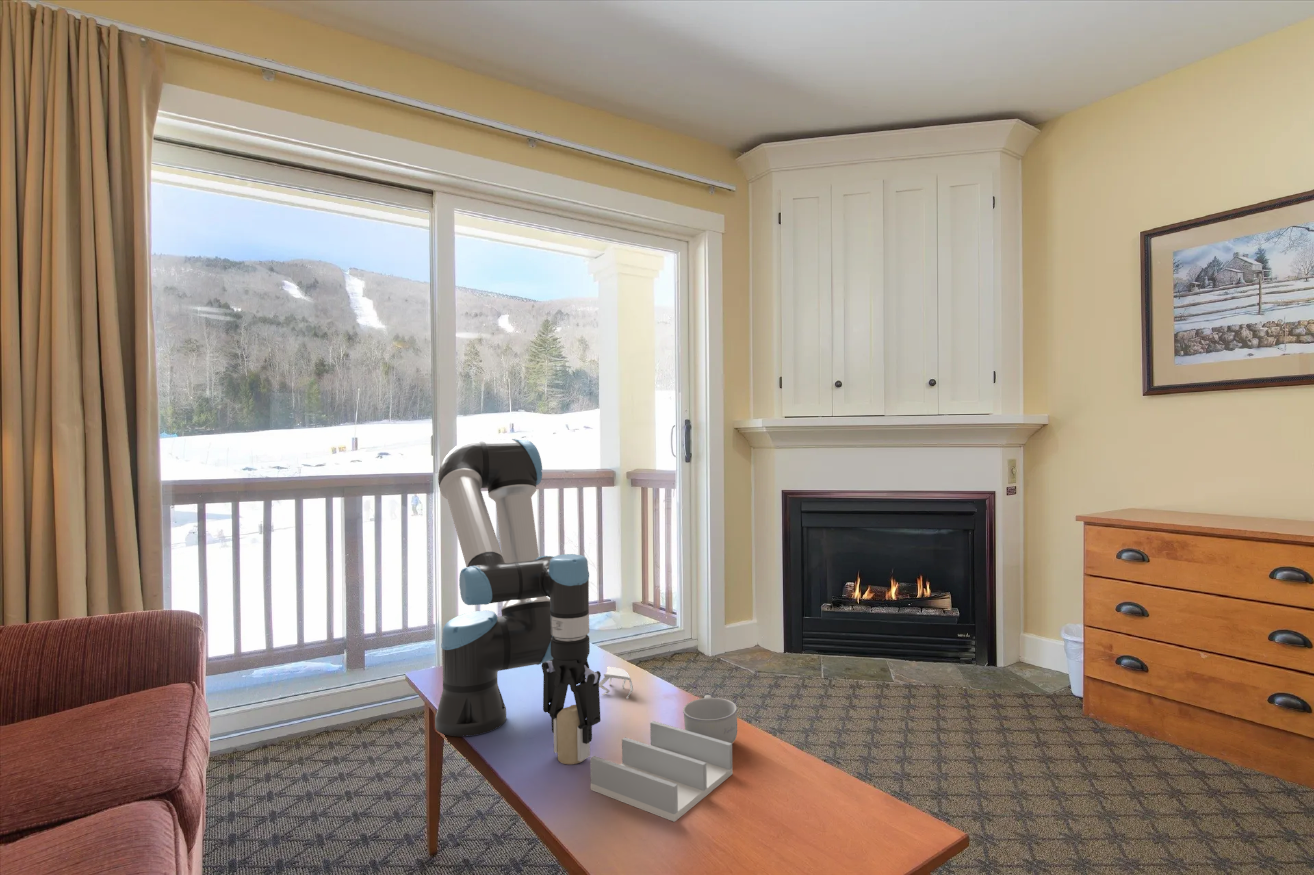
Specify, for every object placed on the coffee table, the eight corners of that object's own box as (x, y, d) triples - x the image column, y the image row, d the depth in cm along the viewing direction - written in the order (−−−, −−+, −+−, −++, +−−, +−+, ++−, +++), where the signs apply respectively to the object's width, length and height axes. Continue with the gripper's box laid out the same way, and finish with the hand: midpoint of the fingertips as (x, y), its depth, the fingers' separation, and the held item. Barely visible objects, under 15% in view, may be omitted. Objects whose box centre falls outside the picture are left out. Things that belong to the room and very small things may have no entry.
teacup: (735, 761, 134) (734, 719, 134) (679, 756, 136) (678, 715, 136) (741, 730, 148) (740, 692, 148) (690, 726, 150) (689, 689, 150)
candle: (572, 749, 140) (571, 699, 140) (591, 757, 136) (591, 706, 136) (551, 759, 136) (550, 708, 135) (571, 767, 132) (570, 715, 132)
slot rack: (590, 789, 124) (590, 758, 124) (653, 749, 139) (653, 720, 139) (674, 822, 113) (673, 787, 113) (732, 774, 129) (732, 743, 129)
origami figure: (588, 693, 170) (588, 672, 170) (611, 683, 177) (611, 663, 176) (625, 704, 162) (624, 683, 162) (648, 693, 169) (647, 673, 169)
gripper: (522, 632, 138) (524, 749, 138) (593, 648, 127) (595, 775, 127) (549, 623, 144) (551, 735, 144) (619, 638, 133) (621, 759, 134)
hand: (571, 754), depth 136 cm, fingers closed on candle, 5 cm apart
